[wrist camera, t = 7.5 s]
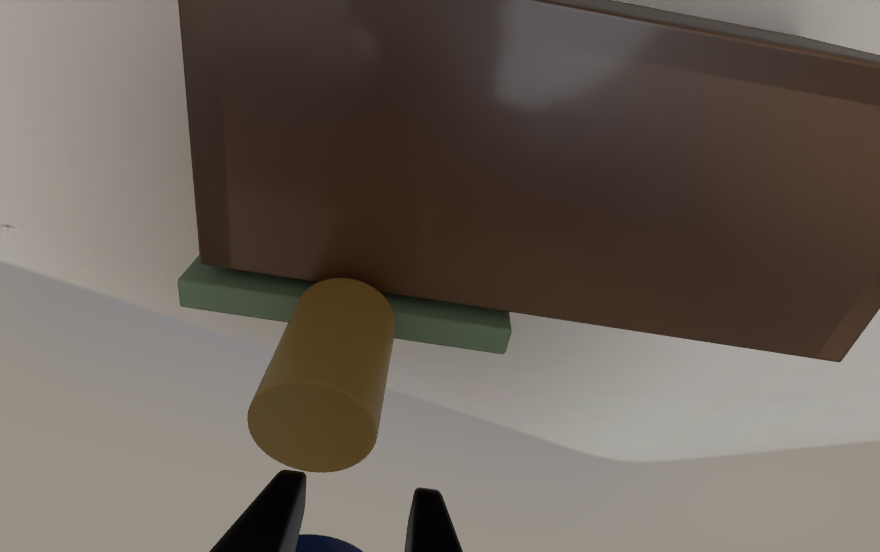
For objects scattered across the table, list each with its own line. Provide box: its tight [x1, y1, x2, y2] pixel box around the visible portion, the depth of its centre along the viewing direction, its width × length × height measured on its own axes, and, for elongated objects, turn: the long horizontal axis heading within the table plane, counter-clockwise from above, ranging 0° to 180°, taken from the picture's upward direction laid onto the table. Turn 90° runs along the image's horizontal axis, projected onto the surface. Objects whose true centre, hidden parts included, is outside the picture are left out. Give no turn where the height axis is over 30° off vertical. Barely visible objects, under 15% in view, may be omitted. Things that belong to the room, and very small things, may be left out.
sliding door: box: [178, 255, 512, 472], centre depth 14 cm, size 2×8×11 cm, turn 81°
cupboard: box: [178, 0, 880, 362], centre depth 15 cm, size 8×16×8 cm, turn 81°
